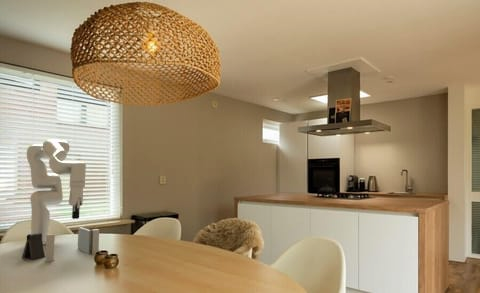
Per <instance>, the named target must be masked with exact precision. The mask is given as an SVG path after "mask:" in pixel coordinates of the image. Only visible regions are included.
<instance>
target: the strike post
mask: <svg viewBox="0 0 480 293" xmlns="http://www.w3.org/2000/svg"><path fill="white" fill-rule="evenodd" d="M55 236H56V235H55V233H49V234H47V236H46V244H45V262H53V261H54V260H55V259H54V258H55V241H56V240H55Z"/></svg>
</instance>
